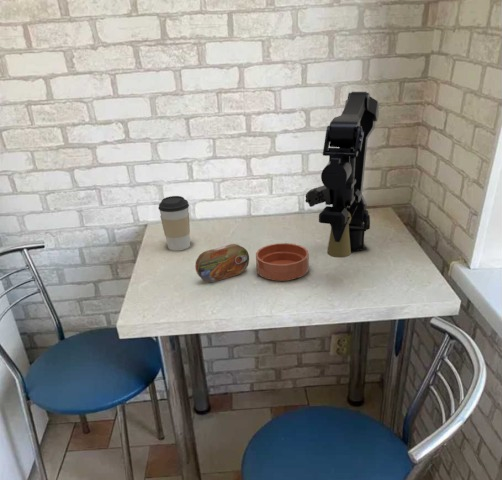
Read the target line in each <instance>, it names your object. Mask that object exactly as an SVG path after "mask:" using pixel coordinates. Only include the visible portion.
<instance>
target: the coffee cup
mask: <svg viewBox="0 0 502 480" xmlns="http://www.w3.org/2000/svg"><path fill="white" fill-rule="evenodd" d="M189 207H190V204H189V201H188V200H187V199H185V198H184V197H183V196H182V195H171V196H167V197H164V198H162V199H161V201H160V203H159V204H158V210H159V213H160V214H159V215H160V221H161V226H162V230H163V233H164V236H165V240H166V244H167V249H168V250H170V251H182V250H186V249H188V248H189V247H190V246H191V236H190V235H191V228H190V227H191V224H190V223H191V221H190V211H189V209H190V208H189Z"/></svg>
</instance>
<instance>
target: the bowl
mask: <svg viewBox="0 0 502 480" xmlns="http://www.w3.org/2000/svg"><path fill="white" fill-rule="evenodd" d="M255 266H256V273H257V274H258V275H259V276H260V277H262V278H265V279H268V280H270V281H271V280H272V281H278V282H279V281H280V282H281V281H282V282H283V281H291V280H295V279H296V280H297V279H298V278H301V277H303V276H304V275H306V274H307V273H308V271H309V269H310V253H309V250H308V249H307V248H306V247H304V246H302V245H299V244H296V243H289V242H288V243H287V242H280V243H279V242H278V243H273V244H268V245H265V246H262V247H261V248H259V249H258V250H257V252H255Z"/></svg>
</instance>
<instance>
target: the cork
mask: <svg viewBox="0 0 502 480" xmlns="http://www.w3.org/2000/svg"><path fill="white" fill-rule="evenodd" d="M348 217H350V219H349V221H348V224H347V226H346V228H345V230H344V233H343V235H342V237H341V240H340V242H335V239H334V236H333V232H332V228H331V227H330V233H329V240H328V245H327V250H326V252H327V255H328V256H330V257H332V258H337V259H338V258H339V259H341V258H346V257H350V256H351V254H352V252H351V249H350V237H349V223H350V222H351V214H350V213H349V212H348Z"/></svg>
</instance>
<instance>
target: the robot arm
mask: <svg viewBox="0 0 502 480" xmlns="http://www.w3.org/2000/svg"><path fill="white" fill-rule="evenodd" d="M344 102H345V103H344V108H343V110H342V113H341V115H338V116H334V117H333V118H332V120H331V121H330V123H329V125H327V127H326V131H325V137H324V144H323V150H322V156H324V157H325V156H326V157H328V158H329V159H328V162H327V164H326V165H325V166H324V168H323V170H322V171H321V175H320V180H321V182H322V184H323V185H321V186H318V187H317V186H316V187H314V188H311V189H309V190H308V191H307V192H306V194H305V201H304V202H305V203H307V204H308V206H309V207H310V208H312V207H315V206H316V205H319V204H320V205H321V204H323V203H324V204H325V207H324V208H322V210H321V211H320V212H319V214H318V223H319V224H329V225H330V229H331V228H332V232H333V236H334V239H335V242H340V240H341V237H342V235H343V233H344V230H345V228H346V226H347V224H348V221H349V219H350V217H348V212H349V213H350V214H351V222H350V223H349V237H350V249H351V253H354V252H358V251H359V252H360V251H364V250H367V246H365V233H366V232H367V231H368V230H370V229H371V215H370V214H369V210H368V209H367V205H368V204H367V201H366V199H365V197H364V195H363V190H364V189H363V188H364V178H365V168H366V160H367V149H368V139H369V137H370V136H371V134H372V133H373V131H374V130H375V128H376V122H378V121H379V114H380V107H379V102H378V100H377V99H375V98H373V97H372V96H371V95H370V92H367V91H351V92H348V94H347V99H346V100H345V101H344Z"/></svg>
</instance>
